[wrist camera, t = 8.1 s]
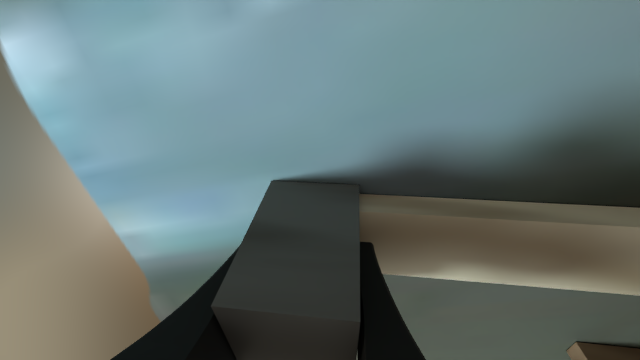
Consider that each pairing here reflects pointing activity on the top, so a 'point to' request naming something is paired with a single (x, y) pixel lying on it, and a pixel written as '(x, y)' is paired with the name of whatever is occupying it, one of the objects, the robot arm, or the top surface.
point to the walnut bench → (602, 352)
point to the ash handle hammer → (402, 259)
